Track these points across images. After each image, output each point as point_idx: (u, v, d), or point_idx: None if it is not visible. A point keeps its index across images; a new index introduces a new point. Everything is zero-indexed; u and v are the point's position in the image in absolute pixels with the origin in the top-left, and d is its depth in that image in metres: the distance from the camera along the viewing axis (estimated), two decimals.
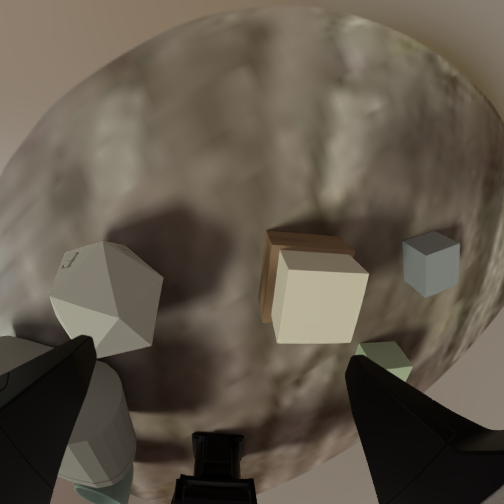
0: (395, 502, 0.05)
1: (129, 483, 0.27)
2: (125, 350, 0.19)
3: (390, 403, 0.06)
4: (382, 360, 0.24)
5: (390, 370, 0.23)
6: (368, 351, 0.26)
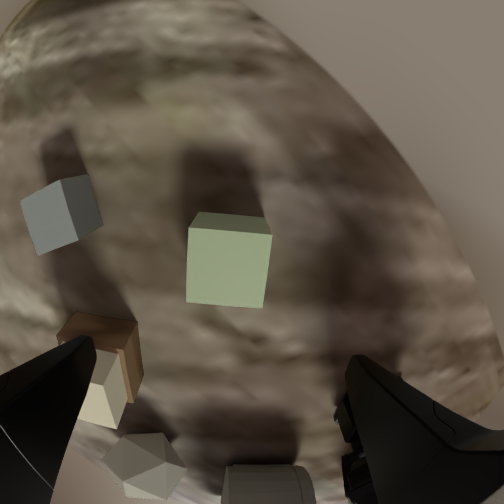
0: (395, 502, 0.05)
1: None
2: (163, 478, 0.21)
3: (390, 403, 0.06)
4: None
5: (190, 274, 0.16)
6: None
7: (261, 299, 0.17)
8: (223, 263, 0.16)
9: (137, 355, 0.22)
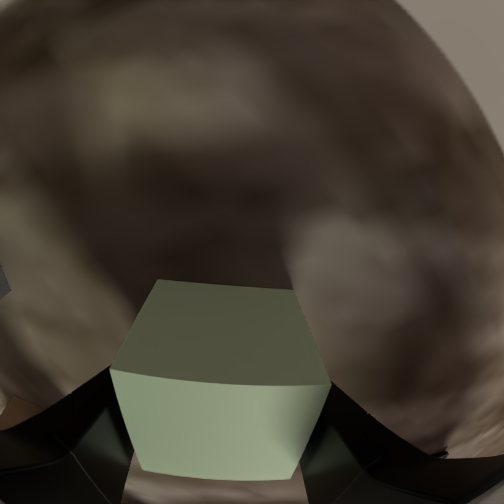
0: None
1: None
2: None
3: None
4: None
5: (138, 442, 0.06)
6: None
7: (289, 471, 0.07)
8: (209, 435, 0.06)
9: None
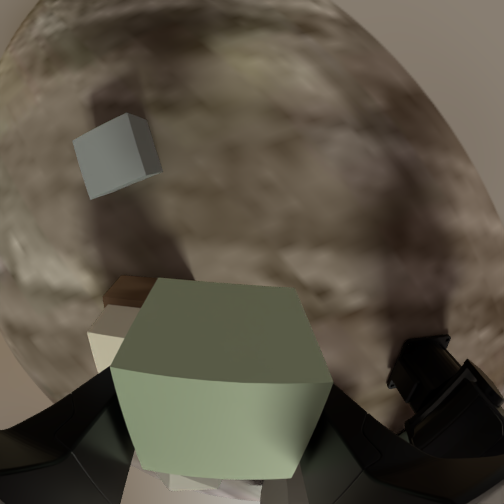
0: None
1: None
2: None
3: None
4: None
5: (138, 441, 0.06)
6: None
7: (291, 470, 0.07)
8: (209, 434, 0.06)
9: None
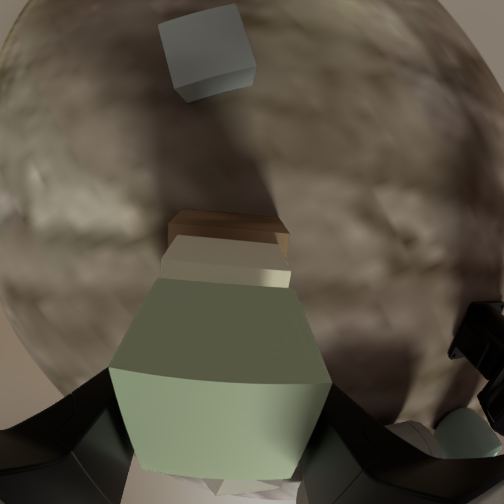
0: None
1: (479, 428, 0.21)
2: None
3: None
4: None
5: (137, 441, 0.06)
6: None
7: (290, 470, 0.07)
8: (208, 434, 0.06)
9: None
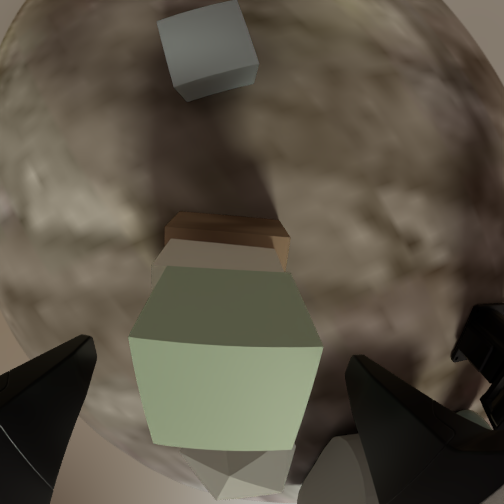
0: (395, 502, 0.05)
1: None
2: (283, 460, 0.17)
3: (390, 403, 0.06)
4: None
5: (150, 412, 0.07)
6: None
7: (291, 440, 0.08)
8: (215, 400, 0.07)
9: None
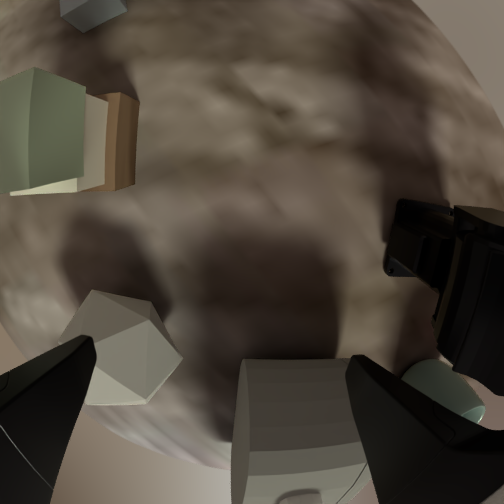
0: (395, 502, 0.05)
1: (451, 381, 0.21)
2: (143, 352, 0.16)
3: (390, 403, 0.06)
4: None
5: None
6: None
7: (26, 173, 0.07)
8: None
9: (132, 139, 0.17)
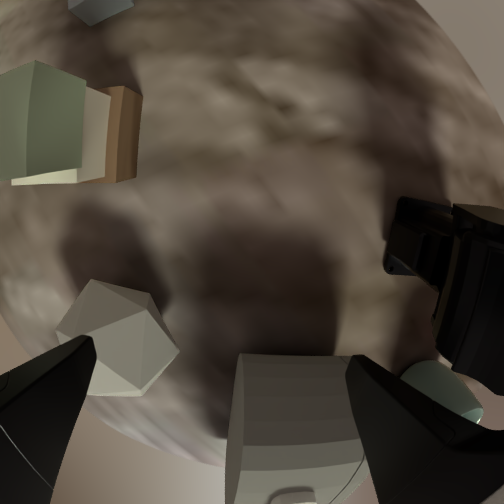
0: (395, 502, 0.05)
1: (449, 383, 0.21)
2: (139, 342, 0.16)
3: (390, 403, 0.06)
4: None
5: None
6: None
7: (24, 161, 0.07)
8: None
9: (134, 133, 0.17)
